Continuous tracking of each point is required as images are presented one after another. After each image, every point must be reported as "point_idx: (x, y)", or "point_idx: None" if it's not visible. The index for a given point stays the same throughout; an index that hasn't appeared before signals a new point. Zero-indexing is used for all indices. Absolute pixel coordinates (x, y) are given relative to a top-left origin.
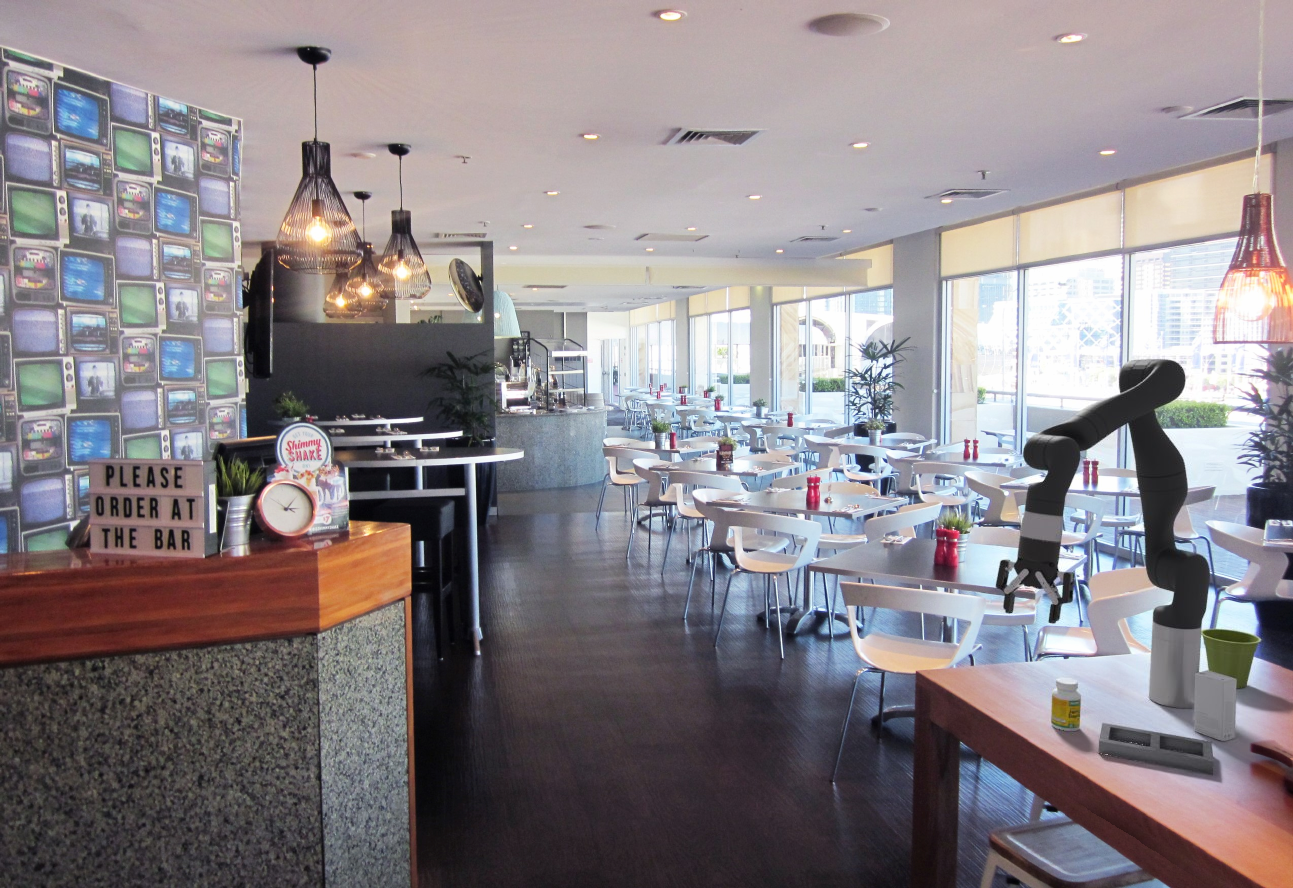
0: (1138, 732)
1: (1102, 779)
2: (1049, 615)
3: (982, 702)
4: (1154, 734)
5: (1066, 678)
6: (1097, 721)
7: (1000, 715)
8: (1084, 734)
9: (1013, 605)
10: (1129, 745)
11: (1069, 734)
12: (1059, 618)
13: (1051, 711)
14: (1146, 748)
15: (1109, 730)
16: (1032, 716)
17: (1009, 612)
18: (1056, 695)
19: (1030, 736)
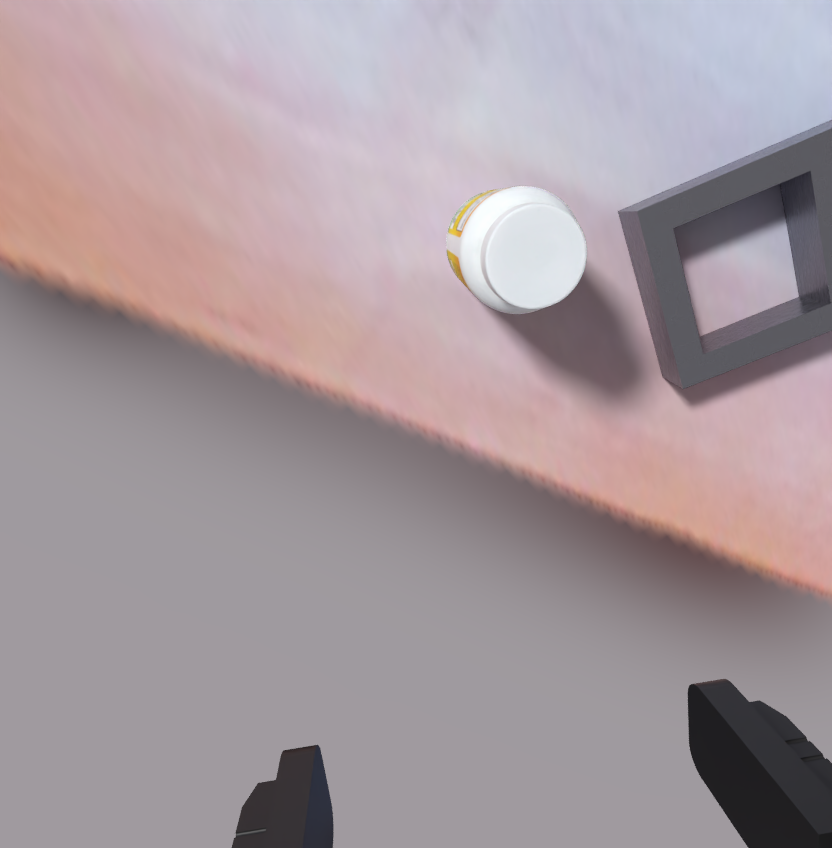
0: (766, 188)
1: (724, 525)
2: (733, 819)
3: (162, 267)
4: (821, 165)
5: (518, 222)
6: (555, 77)
7: (289, 334)
8: None
9: (312, 807)
10: (771, 346)
11: None
12: (785, 720)
13: (458, 276)
14: (822, 325)
15: (681, 268)
16: (365, 246)
17: (330, 810)
18: (501, 311)
19: (457, 420)
